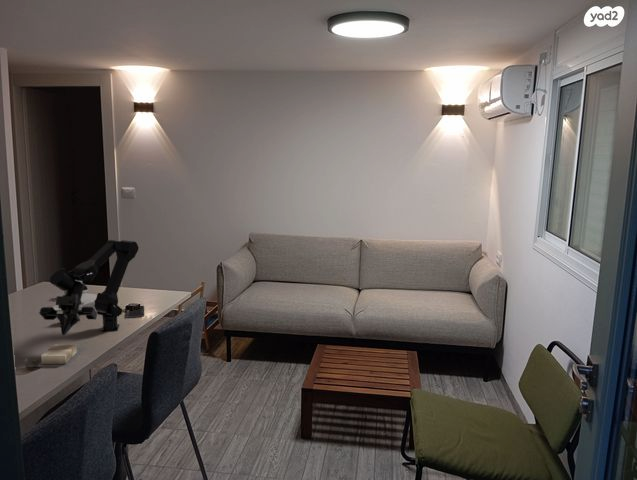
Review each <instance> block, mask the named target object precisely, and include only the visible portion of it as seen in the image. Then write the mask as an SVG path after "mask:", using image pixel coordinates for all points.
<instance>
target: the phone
mask: <svg viewBox="0 0 637 480" xmlns="http://www.w3.org/2000/svg"><path fill="white" fill-rule="evenodd" d="M139 306H140V309H138V310H134V311H130V310H127V309H126V312H125V319H135V318H144V317H145V306H144V305H139Z"/></svg>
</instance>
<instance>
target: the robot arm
mask: <svg viewBox="0 0 637 480" xmlns="http://www.w3.org/2000/svg"><path fill="white" fill-rule="evenodd" d="M138 252H139V246H138V243H137V242H136V241H133V240H125V239H123V240H120V241H119V240H118V239H117V240H116V239H109V240H107V241H106V243H105V244H104V245H103V246H102V247H101V248H100V249H99V250H98V251H96V252H95V254H93V256H91V257H90V258H89V259H88V260H86V261H83V262H80V263H79V264H78V265H76V266H75V267H73V269H72V270H70V271H68V270H67V269H66V268H63V267H62V268H61V267H60V268H59V270H57V271H55V272H54V273H52V274H51V276H50V278H49V283H50V284H52V285H53V287H56V288H57V289H59V290H61V291H63V292H64V291H66V293H65V294H63V296H62V295H61V296H60V295H59V296H55V297H56V299H55V305H59V308H61V310H55V309H54V308H53V306H43V307H41V308H40V310H39V312H38V313H39V315H40V316H41V317H42V319H44V320H46V321H51V320H52V321H54V320H55V319H57V320H58V321H59V323H60V331H61V335H62V336H66V335H67V334H68V332H69V331H70V330H71V329H72V328H73V327H74V325H75V324H77V323H78V322H80V321H81V317H82V316H85V318H86V319H87V320H97V316H99V315H100V316H101V317H102V327H101V330H100V331H101V332H113V331H118V330H119V328H120V324H119V323H118V317H120V316H121V315H122V314H123V308H121V307H120V306H119V305H118V304H119V297H118V292H119V290H120V287H121V284H122V281H123V278H124V276H125V273H126V271H127V267H128V266H129V263H130V262H131V261H132V260H133V259H134V258H135V257H136V255H137V253H138ZM114 254H115V255H116V260H115V264H114V266H113V268H112V271H111V273H110V276H109V279H108V281H107V283H106V287H105V289H104V291H103V292H98V293H96V295H97V297H96V300H95V301H94V302H95V304H94V307H95V309H94V308H93V307H82V309H81V310H78V309H79V305H80V304H81V297H82V293H83V291H84V290H88V291H89V287H87V285H86V283H91V282H92V281H93V280H94V279H95V277H96V276H97V275H98V273H99V269H100V268H101V266H103V264H104V263H105V262H106V261H107V260H108V259H110V258H111V256H113V255H114ZM75 280H78V281H75ZM79 281H82V283H81V282H79ZM83 282H84V283H83ZM80 316H81V317H80ZM66 317H67V318H66ZM76 322H77V323H76Z"/></svg>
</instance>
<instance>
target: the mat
mask: <svg viewBox="0 0 637 480" xmlns="http://www.w3.org/2000/svg"><path fill="white" fill-rule="evenodd" d="M86 349H87V348H86V347H77V353H76V354H75V355H74V356H73V357H72V358H71V359H70V360H69V361H68V362H67V363H66V364H42V360H41V361H40V362H39V363H40V365H38V364H37V365H38V366H37V365H36V366H35V367H37V368H38V367H44V368H45V367H70V366H71V365H72V363H74V362H75V361H76V359H78V358H79V356H81V354H82V353H83V352H85V350H86Z"/></svg>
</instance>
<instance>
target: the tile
mask: <svg viewBox="0 0 637 480" xmlns="http://www.w3.org/2000/svg"><path fill="white" fill-rule="evenodd" d="M77 348H78V346H77V343H75V344H73V343H72V344H71V343H70V344H62V343H61V344H53V345H52V346H50V347H49V348H48V349H47V350H46V351H45V352H44V353H42V354H41V361H42V364H66V363H67V362H68V361H69V360H70V359H71V358H72V357H73V356H74V355H75V354H76V353H77Z"/></svg>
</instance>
